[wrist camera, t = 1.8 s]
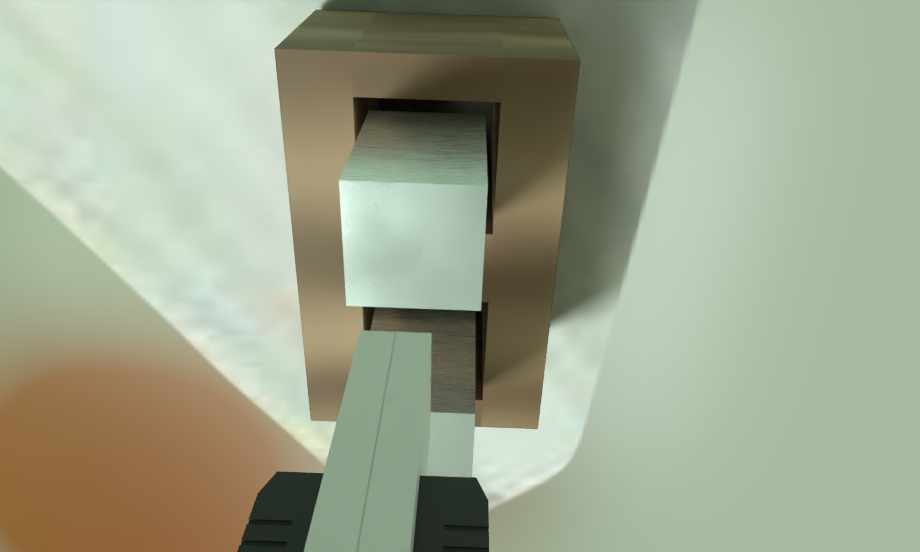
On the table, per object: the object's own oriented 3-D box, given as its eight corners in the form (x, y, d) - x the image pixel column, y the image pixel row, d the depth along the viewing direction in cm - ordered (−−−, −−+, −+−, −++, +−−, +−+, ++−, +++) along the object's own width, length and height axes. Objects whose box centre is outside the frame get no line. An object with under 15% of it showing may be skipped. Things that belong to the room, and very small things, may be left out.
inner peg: (368, 110, 24) (338, 180, 19) (485, 114, 24) (487, 185, 19) (372, 215, 26) (346, 305, 21) (480, 219, 26) (480, 310, 21)
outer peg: (375, 305, 28) (352, 409, 23) (475, 309, 28) (475, 413, 23) (378, 384, 30) (357, 496, 25) (471, 387, 30) (470, 500, 25)
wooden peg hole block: (316, 9, 29) (274, 48, 23) (558, 18, 29) (579, 59, 23) (337, 330, 37) (310, 420, 31) (527, 336, 37) (537, 429, 31)
